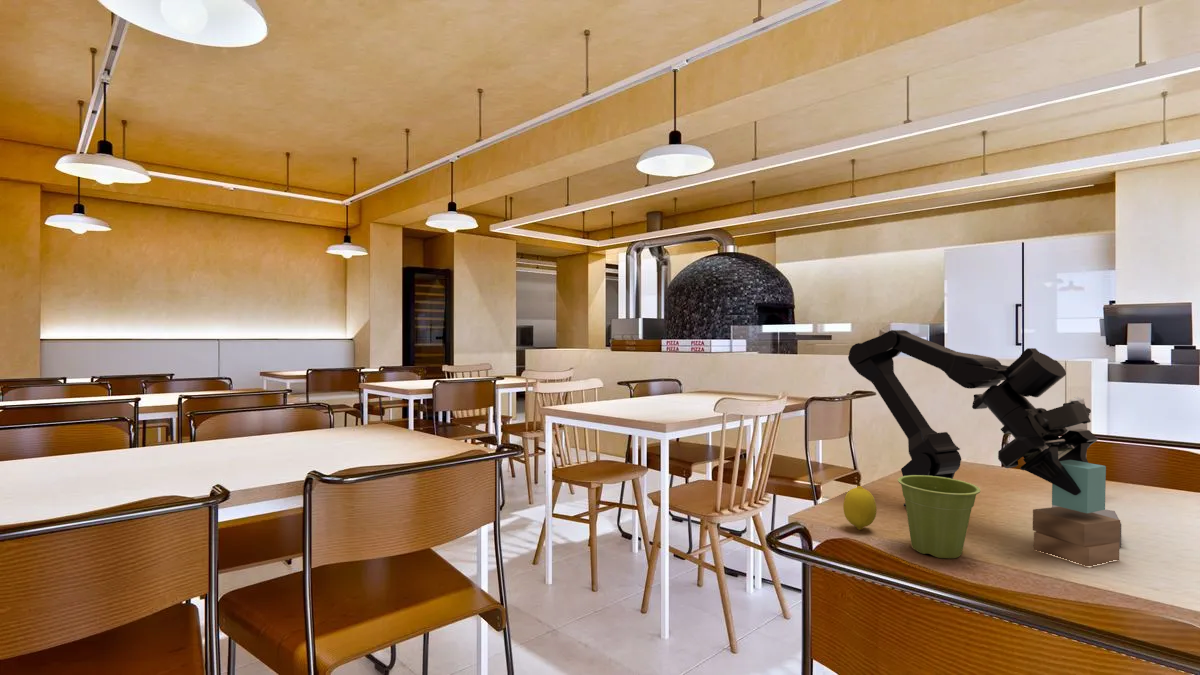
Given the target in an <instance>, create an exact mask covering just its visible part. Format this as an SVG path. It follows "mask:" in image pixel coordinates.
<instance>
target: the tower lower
mask: <svg viewBox="0 0 1200 675" xmlns="http://www.w3.org/2000/svg"><path fill="white" fill-rule="evenodd" d="M1119 543H1120V542H1117V543H1110V544H1102V545H1095V546H1088V547H1082V546H1079V545H1076V544H1073V543H1070V542H1067V541H1064V540H1061V539H1058V538H1055V537H1052V536H1049V535H1046V534H1043V533H1039V532H1036V531H1034V532H1033V551H1034V550H1037V551H1041V552H1044V553H1048V554H1052V555H1055V556H1058V557H1061V558H1064V559H1067V560H1070V561H1073V562H1076V563H1079V564H1082V565H1085V566H1093V565H1097V564H1102V563H1106V562H1109V561H1113V560H1119V561H1120V547H1119ZM1037 551H1036V552H1037Z"/></svg>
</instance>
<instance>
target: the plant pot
mask: <svg viewBox="0 0 1200 675" xmlns="http://www.w3.org/2000/svg"><path fill="white" fill-rule="evenodd" d="M897 481H898V484H900V486H901V489H902V490H901V491H902V496H903V498H904V502H905V503H906V507H905V510H906V517H907V522H908V530H909V536H910V544H911V547H912V549H913V550H914V551H917V552H919V553H920V554H924V555H926V554H929V555H931V556H933V557H935V558H938V559H956V558H959V557H960V556H961V555H962V554H963V550H964V549H963V548H964V544H965V540H966V536H967V533H968V532H967V531H968V527H969V522H970V518H971V513H972V509H973V507H974V506H975V502H976V498H977V495H979V494H980V493H981V488H980V487H979V486H977V485H975V484H973V483H970V482H967V481H964V480H959V479H955V478H953V479H951V478H945V477H938V476H927V475H925V476H924V475H909V476H903V475H902V476H900V477H898V478H897Z"/></svg>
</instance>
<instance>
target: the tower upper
mask: <svg viewBox="0 0 1200 675" xmlns="http://www.w3.org/2000/svg"><path fill="white" fill-rule="evenodd" d="M1120 522H1121V520H1120V519H1119V520H1118V519H1114V518H1111V517H1107V516H1103V515H1100V514H1096V513H1083V512H1079V511H1075V510H1071V509H1067V508H1063V507H1052V506H1051V507H1043V508H1035V509H1034V508H1033V509H1032V531H1034V532H1039V533H1043V534H1046V535H1049V536H1052V537H1055V538H1058V539H1061V540H1064V541H1067V542H1070V543H1073V544H1076V545H1079V546H1082V547H1088V546H1095V545H1102V544H1110V543H1117V542H1120Z"/></svg>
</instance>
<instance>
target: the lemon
mask: <svg viewBox="0 0 1200 675" xmlns="http://www.w3.org/2000/svg"><path fill="white" fill-rule="evenodd" d="M842 507H843V514H844V517H845V518H846V520H847V521H848V522H849V524H851V525H853V526H854V527H856V529H857V530H863V529H864V528H865V527H868V526H870V525H872V523H873V522H874V521H875V519H876V517H877V516H876V515H877V504H876V500H875V498H874V496H873V494H872V493H871V492H870V491H869V490H868V489H866V488H864V487H863V486H861V485H858V486H857V487H854V488H852V489H850V490H848V492H847V493H846V495H845V497H844V500H843V506H842Z"/></svg>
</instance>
